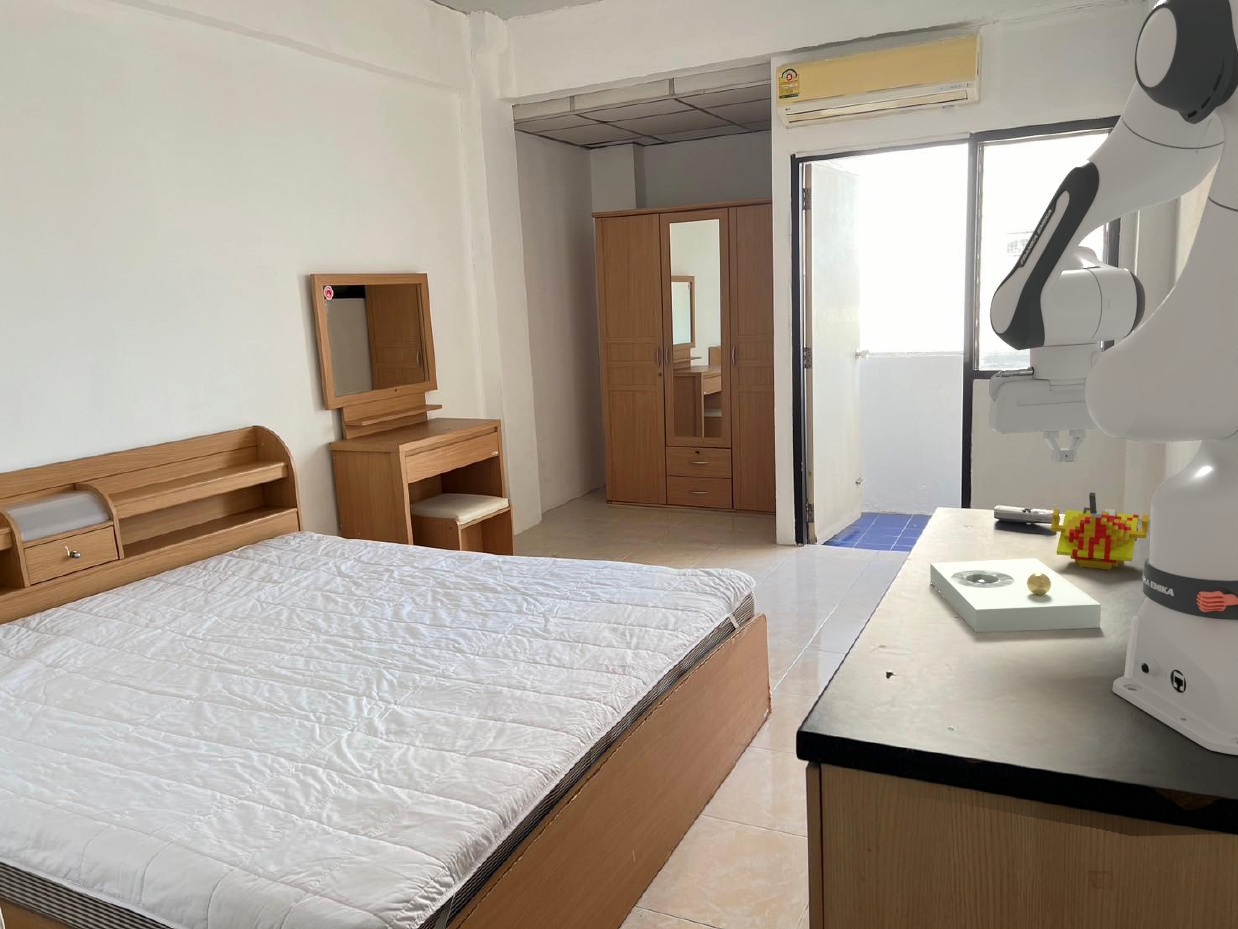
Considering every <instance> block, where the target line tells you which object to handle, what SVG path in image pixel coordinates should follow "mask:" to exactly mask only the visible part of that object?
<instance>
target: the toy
mask: <svg viewBox="0 0 1238 929" xmlns="http://www.w3.org/2000/svg"><path fill="white" fill-rule="evenodd" d="M1088 498H1089V507H1086V506H1085V507H1083V510H1071V509H1070V510H1069V509H1066V510H1065V515H1064V518H1063V522H1062V525H1061V524H1060V521H1061V515H1060V508H1054V509H1053V512H1052V521H1051V525H1050V531H1051V532H1057V533H1059V532H1060V535H1059V538H1058V543H1057V547H1056V555H1059V556H1060V555H1061V556H1069V557H1070V560H1074V562H1075V563H1077V564H1079V565H1078V566H1079V567H1082V568H1084V567H1085V568H1092V569H1093V568H1094V569H1104V570H1112V567H1117V568H1118V565H1121V564H1124V562H1132V561H1133V557H1134V556H1133V555H1134V549H1135V544H1136V542H1137V541H1138V539H1147V534H1148V531H1149V527H1150V521H1149V514H1142V518H1141V528H1140V530H1139V527H1138V526H1139V525H1138V524H1139V519H1140V515H1139V514H1132V513H1131V514H1128V513H1117V512H1116V510H1117V509H1113V508H1104V511H1103V510H1097V500H1096V492H1089V495H1088Z"/></svg>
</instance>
